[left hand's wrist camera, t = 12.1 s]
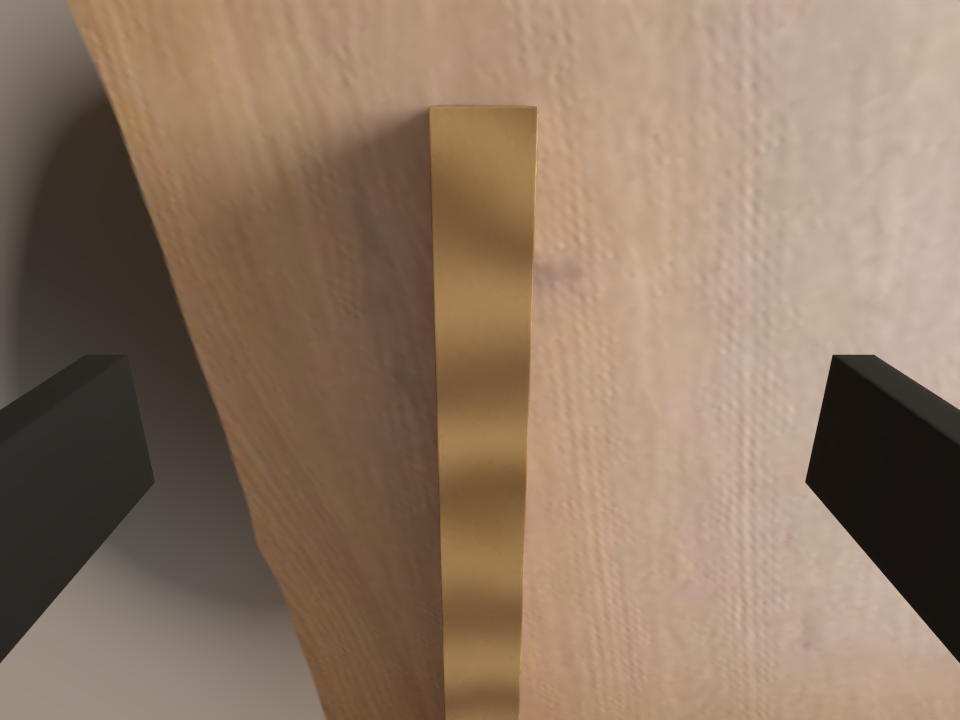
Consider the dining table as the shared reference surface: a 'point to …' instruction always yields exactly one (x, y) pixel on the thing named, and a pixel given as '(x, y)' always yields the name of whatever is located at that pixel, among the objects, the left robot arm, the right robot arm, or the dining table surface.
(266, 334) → the dining table surface
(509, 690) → the bar
